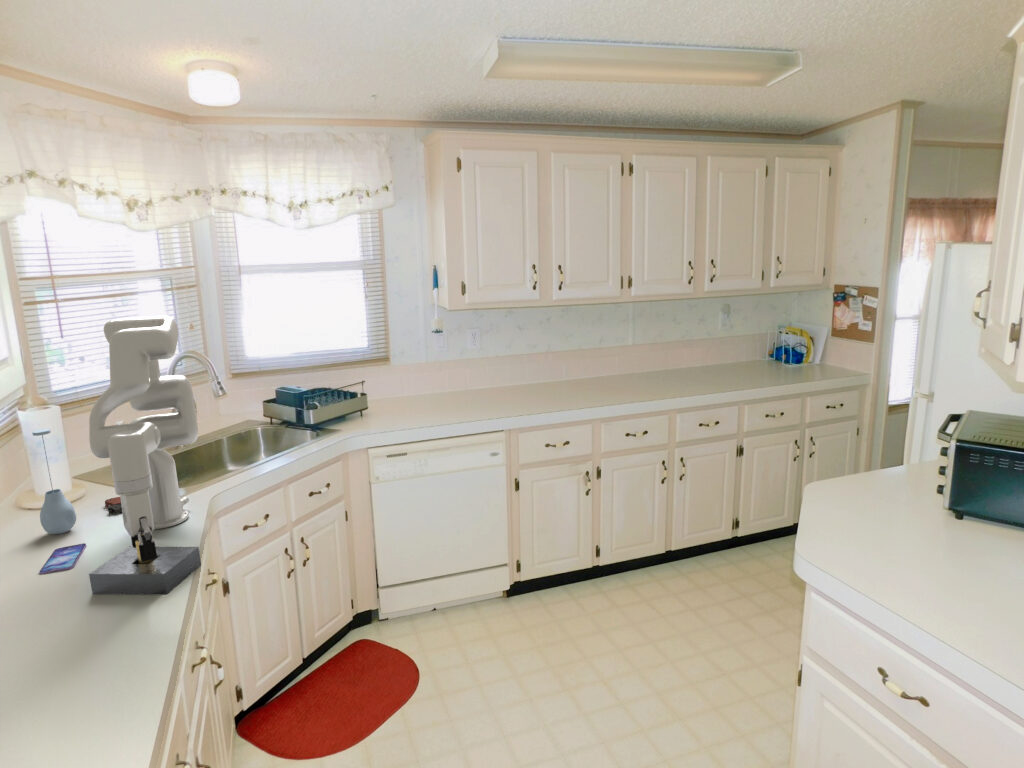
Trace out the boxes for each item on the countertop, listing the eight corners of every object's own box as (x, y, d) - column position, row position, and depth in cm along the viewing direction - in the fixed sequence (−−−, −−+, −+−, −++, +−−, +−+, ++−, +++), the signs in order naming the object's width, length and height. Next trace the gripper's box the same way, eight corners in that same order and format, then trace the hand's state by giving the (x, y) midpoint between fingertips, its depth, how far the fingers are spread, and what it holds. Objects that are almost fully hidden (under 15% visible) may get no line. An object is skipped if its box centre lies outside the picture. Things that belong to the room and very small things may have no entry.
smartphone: (37, 573, 157) (55, 548, 171) (38, 576, 157) (55, 551, 171) (72, 566, 160) (87, 542, 173) (73, 569, 160) (87, 545, 174)
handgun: (160, 488, 211) (166, 497, 202) (161, 495, 212) (167, 505, 202) (104, 498, 202) (108, 508, 192) (105, 506, 202) (109, 517, 193)
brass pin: (146, 576, 155) (140, 537, 153) (158, 576, 154) (152, 537, 152) (138, 582, 152) (132, 542, 150) (151, 582, 151) (144, 542, 149)
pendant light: (74, 524, 188) (56, 425, 182) (81, 531, 182) (62, 430, 176) (41, 533, 182) (21, 431, 177) (46, 541, 177) (26, 436, 171)
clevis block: (132, 564, 161) (129, 546, 160) (201, 565, 159) (198, 546, 158) (92, 593, 147) (88, 573, 146) (166, 594, 145) (163, 574, 144)
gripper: (108, 478, 152) (119, 545, 156) (121, 498, 139) (134, 570, 143) (143, 471, 157) (154, 536, 160) (160, 489, 144) (171, 559, 147)
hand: (144, 552), depth 152 cm, fingers open, 9 cm apart
